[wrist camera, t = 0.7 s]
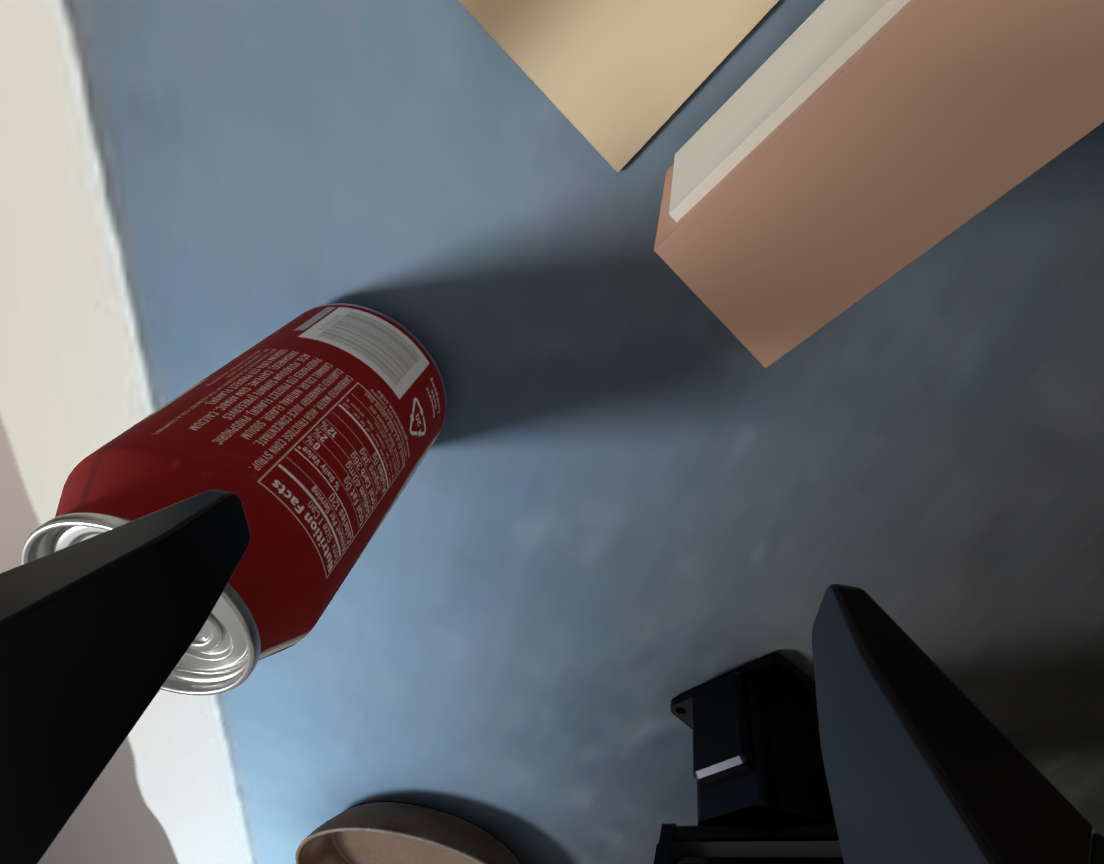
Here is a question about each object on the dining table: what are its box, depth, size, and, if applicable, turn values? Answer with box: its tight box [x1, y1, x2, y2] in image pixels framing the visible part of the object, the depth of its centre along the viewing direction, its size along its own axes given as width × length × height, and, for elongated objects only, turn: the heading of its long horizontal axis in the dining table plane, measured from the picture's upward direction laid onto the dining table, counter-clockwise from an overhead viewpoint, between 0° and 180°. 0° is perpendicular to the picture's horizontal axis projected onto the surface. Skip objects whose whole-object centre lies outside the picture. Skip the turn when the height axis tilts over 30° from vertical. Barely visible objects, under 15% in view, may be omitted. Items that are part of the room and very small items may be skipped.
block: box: [654, 0, 1104, 368], centre depth 12 cm, size 3×10×9 cm, turn 138°
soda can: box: [21, 303, 447, 695], centre depth 19 cm, size 7×7×12 cm
